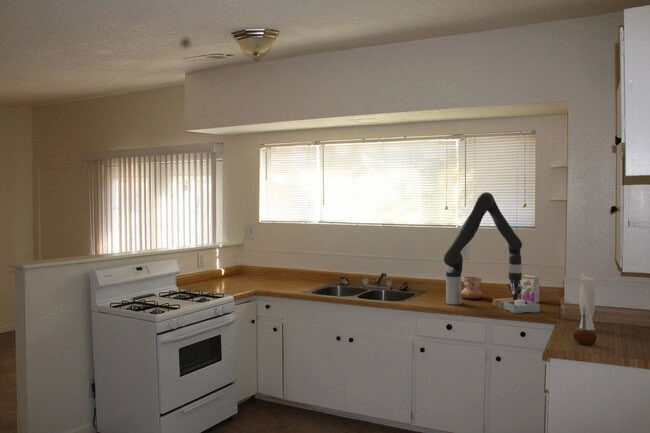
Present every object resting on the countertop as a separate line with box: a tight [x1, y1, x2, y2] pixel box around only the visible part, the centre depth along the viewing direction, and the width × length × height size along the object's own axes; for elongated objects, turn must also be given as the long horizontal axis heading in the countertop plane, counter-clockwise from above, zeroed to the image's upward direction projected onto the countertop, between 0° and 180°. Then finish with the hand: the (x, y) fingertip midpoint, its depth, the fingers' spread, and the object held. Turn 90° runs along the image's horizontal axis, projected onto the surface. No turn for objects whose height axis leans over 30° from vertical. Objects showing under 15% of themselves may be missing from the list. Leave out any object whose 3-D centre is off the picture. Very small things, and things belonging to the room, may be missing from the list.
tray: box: [503, 301, 541, 314], centre depth 330 cm, size 13×16×4 cm
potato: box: [572, 330, 598, 346], centre depth 252 cm, size 7×9×6 cm
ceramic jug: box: [461, 275, 484, 300], centre depth 373 cm, size 18×14×14 cm
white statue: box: [576, 273, 597, 332], centre depth 282 cm, size 8×8×28 cm
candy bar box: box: [520, 274, 540, 304], centre depth 359 cm, size 11×5×16 cm, turn 28°
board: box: [492, 297, 527, 310], centre depth 343 cm, size 13×16×4 cm
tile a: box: [514, 300, 525, 305], centre depth 333 cm, size 5×5×3 cm
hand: (515, 300), depth 337 cm, fingers closed
